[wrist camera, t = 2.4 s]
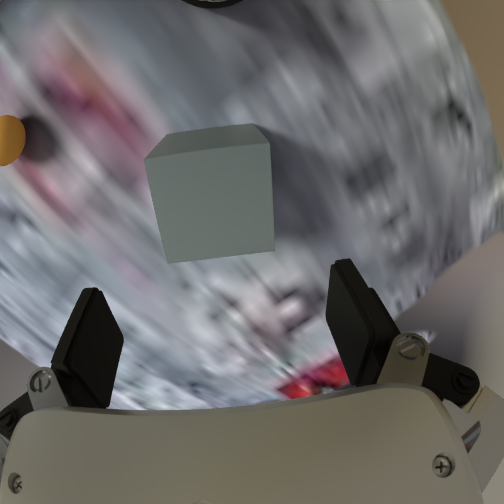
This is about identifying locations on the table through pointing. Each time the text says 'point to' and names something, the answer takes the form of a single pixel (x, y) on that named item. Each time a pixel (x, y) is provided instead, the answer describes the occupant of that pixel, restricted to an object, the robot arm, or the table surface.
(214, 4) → the mug
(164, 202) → the grey rounded box
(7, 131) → the ball
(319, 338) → the table surface
